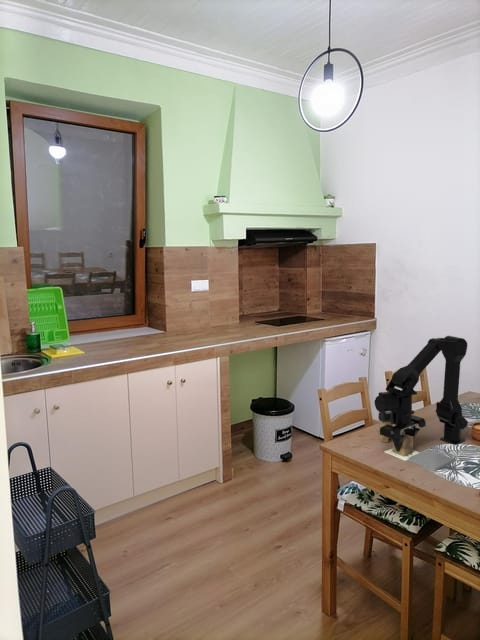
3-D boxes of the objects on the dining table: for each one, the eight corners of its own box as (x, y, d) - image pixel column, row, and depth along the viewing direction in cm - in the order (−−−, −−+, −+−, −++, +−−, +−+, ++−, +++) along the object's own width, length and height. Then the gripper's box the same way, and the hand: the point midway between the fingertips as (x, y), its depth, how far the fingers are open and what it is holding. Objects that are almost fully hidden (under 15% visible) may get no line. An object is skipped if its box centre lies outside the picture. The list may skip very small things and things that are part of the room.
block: (401, 448, 167) (401, 432, 166) (413, 452, 163) (413, 436, 162) (392, 451, 164) (392, 436, 164) (404, 456, 160) (404, 440, 159)
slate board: (427, 451, 164) (427, 449, 164) (454, 461, 156) (454, 458, 155) (408, 460, 158) (408, 457, 158) (434, 471, 150) (435, 468, 149)
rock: (393, 440, 169) (406, 428, 176) (379, 420, 171) (392, 409, 178) (373, 449, 177) (386, 438, 183) (360, 430, 179) (373, 419, 185)
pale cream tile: (400, 445, 170) (400, 444, 170) (421, 453, 163) (421, 453, 163) (384, 451, 165) (384, 451, 165) (405, 460, 158) (405, 460, 158)
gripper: (400, 396, 173) (400, 435, 175) (367, 407, 163) (367, 448, 165) (426, 403, 164) (426, 445, 166) (393, 416, 154) (393, 459, 156)
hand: (402, 449), depth 164 cm, fingers closed on block, 5 cm apart
